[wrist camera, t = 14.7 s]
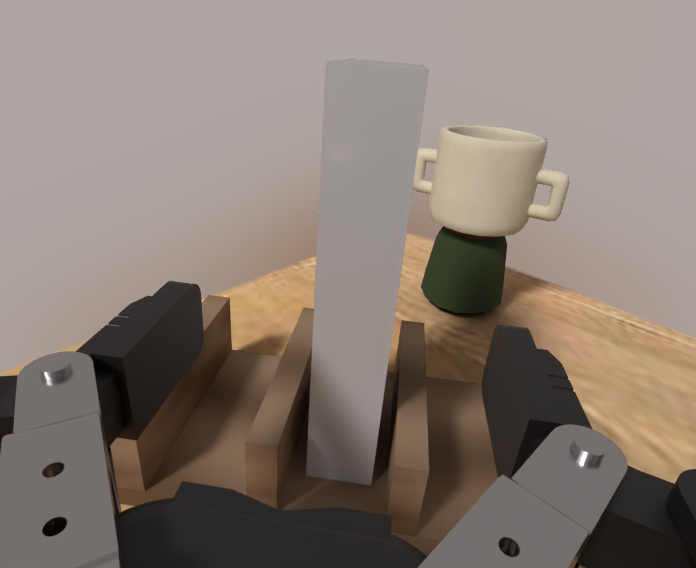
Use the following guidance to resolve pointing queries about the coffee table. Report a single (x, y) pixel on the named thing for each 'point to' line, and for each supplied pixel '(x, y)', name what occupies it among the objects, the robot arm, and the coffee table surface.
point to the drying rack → (292, 435)
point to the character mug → (481, 209)
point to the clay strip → (359, 255)
